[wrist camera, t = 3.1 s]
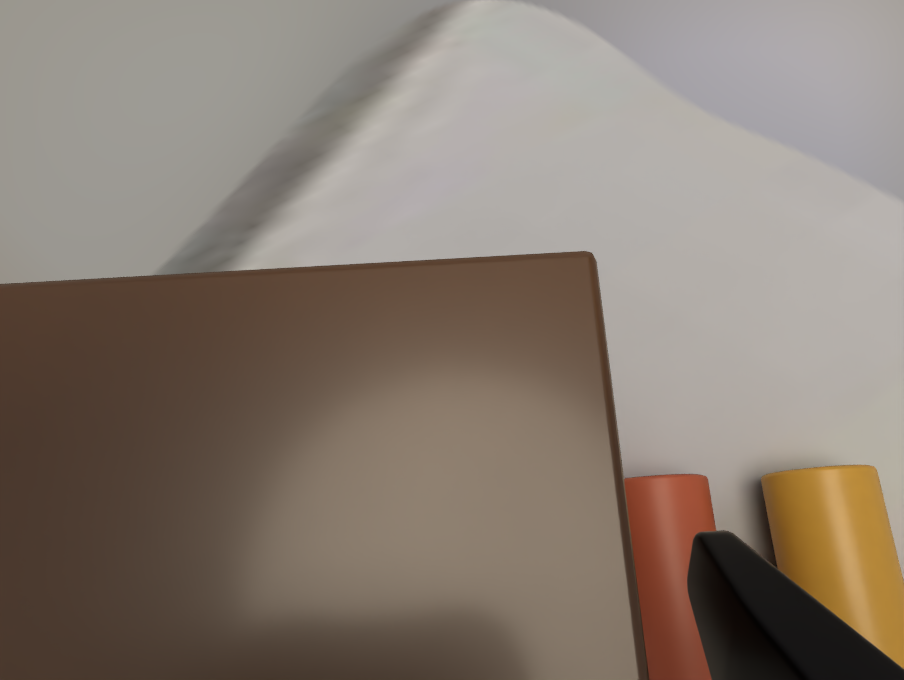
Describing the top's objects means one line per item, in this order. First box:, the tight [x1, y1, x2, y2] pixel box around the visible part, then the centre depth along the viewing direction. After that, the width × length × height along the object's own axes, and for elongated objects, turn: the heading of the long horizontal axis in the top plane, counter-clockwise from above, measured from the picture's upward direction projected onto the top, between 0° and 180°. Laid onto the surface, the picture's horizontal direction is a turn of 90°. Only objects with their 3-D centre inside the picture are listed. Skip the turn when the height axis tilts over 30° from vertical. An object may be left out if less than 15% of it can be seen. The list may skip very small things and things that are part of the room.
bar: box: [0, 251, 649, 680], centre depth 11 cm, size 4×5×12 cm
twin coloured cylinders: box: [624, 465, 904, 680], centre depth 15 cm, size 6×6×2 cm
